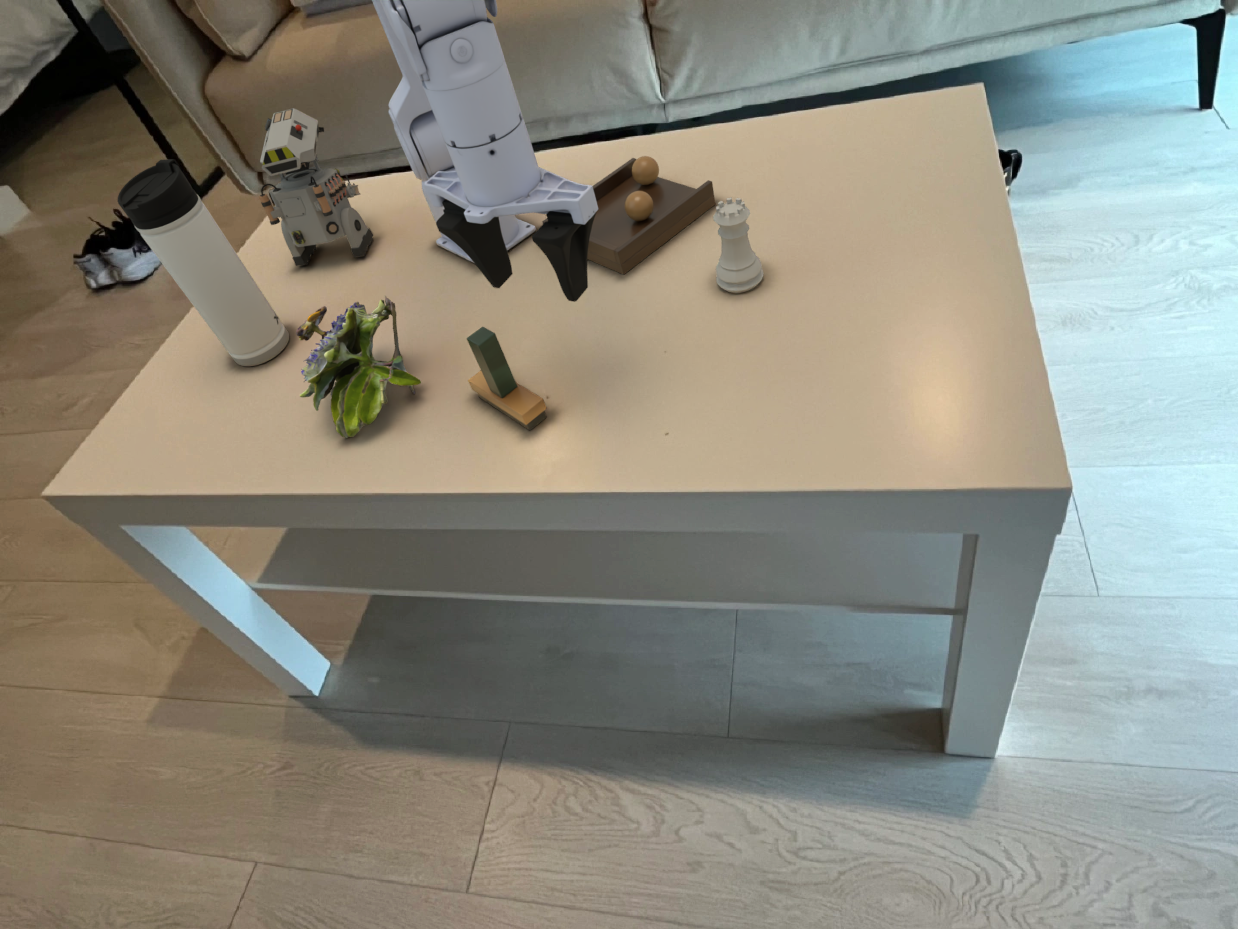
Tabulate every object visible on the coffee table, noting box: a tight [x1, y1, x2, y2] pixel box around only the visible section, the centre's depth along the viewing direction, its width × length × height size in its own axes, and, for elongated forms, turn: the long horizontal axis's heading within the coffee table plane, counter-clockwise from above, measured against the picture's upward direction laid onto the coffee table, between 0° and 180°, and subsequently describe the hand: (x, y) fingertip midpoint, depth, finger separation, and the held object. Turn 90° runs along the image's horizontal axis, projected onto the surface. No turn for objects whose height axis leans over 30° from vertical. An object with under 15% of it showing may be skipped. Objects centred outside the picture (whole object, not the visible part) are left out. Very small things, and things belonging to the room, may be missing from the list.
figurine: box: [258, 107, 374, 267], centre depth 94 cm, size 9×12×15 cm
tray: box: [541, 157, 716, 275], centre depth 87 cm, size 12×14×3 cm
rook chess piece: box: [712, 196, 764, 294], centre depth 74 cm, size 4×4×8 cm
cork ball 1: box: [632, 155, 660, 185], centre depth 89 cm, size 3×3×3 cm
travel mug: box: [117, 158, 290, 367], centre depth 80 cm, size 6×7×20 cm
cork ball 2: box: [625, 191, 654, 221], centre depth 85 cm, size 3×3×3 cm
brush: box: [466, 326, 548, 431], centre depth 69 cm, size 8×2×8 cm, turn 44°
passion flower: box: [295, 295, 422, 439], centre depth 75 cm, size 11×11×12 cm
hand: (539, 287), depth 66 cm, fingers open, 7 cm apart
